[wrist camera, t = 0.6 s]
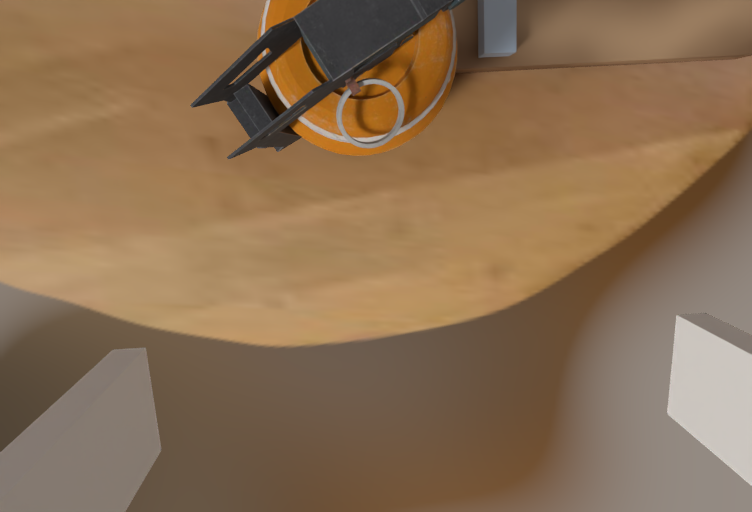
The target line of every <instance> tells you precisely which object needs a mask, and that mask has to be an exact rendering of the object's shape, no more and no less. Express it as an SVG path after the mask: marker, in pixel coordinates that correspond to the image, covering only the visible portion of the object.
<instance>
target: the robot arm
mask: <svg viewBox="0 0 752 512" xmlns="http://www.w3.org/2000/svg"><path fill="white" fill-rule="evenodd" d="M667 411H668V412H667V414H668V415H669V416H670V417H672V418H673V419H674V420H675V421H677V423H679V424H680V425H681V426H682V427H683V428H685V429H686V430H687V431H688V432H689V433H690V434H691V435H693V436H694V437H695V438H696V439H697V440H699V441H700V442H701V443H702V444H703V445H704V446H706V447H707V448H708V449H709V450H711V452H713V453H714V454H715V455H716V456H717V457H719V458H720V459H721V460H722V461H723V462H725V463H726V464H727V465H728V466H729V467H730V468H731V469H733V470H734V471H735V472H736V473H737V474H738V475H740V476H741V477H742V478H743V479H744V480H745V481H747V482H748V483H749V484H750V485H751V486H752V335H750V334H748V333H746V332H744V331H742V330H740V329H738V328H736V327H734V326H732V325H729V324H728V323H725V322H723V321H721V320H719V319H717V318H715V317H713V316H711V315H709V314H707V313H700V314H683V315H677V316H676V327H675V338H674V348H673V358H672V368H671V379H670V389H669V400H668V410H667ZM160 451H161V445H160V438H159V432H158V425H157V419H156V412H155V405H154V400H153V393H152V386H151V380H150V373H149V366H148V360H147V353H146V348H132V349H116V350H112V351H111V352H110V353H109V354H108V355H107V356H105V357H104V358H103V359H102V360H101V361H100V362H99V363H98V364H97V365H96V366H95V367H93V368H92V369H91V370H90V371H89V372H88V373H87V374H86V375H85V376H84V377H83V378H81V380H79V381H78V382H77V383H76V384H75V385H74V386H73V387H72V388H70V389H69V390H68V391H67V392H66V393H65V394H64V395H63V396H62V397H61V398H60V399H59V400H57V401H56V402H55V403H54V404H53V405H52V406H51V407H50V408H49V409H48V410H46V411H45V412H44V413H43V414H42V415H41V416H40V417H39V418H38V419H37V420H35V421H34V422H33V423H32V424H31V425H30V426H29V427H28V428H27V429H26V430H24V431H23V432H22V433H21V434H20V435H19V436H18V437H17V438H16V439H15V440H14V441H12V442H11V443H10V444H9V445H8V446H7V447H6V448H5V449H4V450H3V451H2V452H0V512H125V511H126V509H127V508H128V506H129V504H130V502H131V501H132V499H133V497H134V496H135V494H136V492H137V490H138V489H139V487H140V485H141V483H142V482H143V480H144V478H145V477H146V475H147V473H148V472H149V470H150V468H151V467H152V465H153V463H154V461H155V460H156V458H157V456H158V455H159V453H160Z"/></svg>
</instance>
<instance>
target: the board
mask: <svg viewBox="0 0 752 512" xmlns="http://www.w3.org/2000/svg"><path fill="white" fill-rule="evenodd" d="M452 12H453V15H454V21H455V28H456V37H457V65H456V71H455V73H469V72H489V71H509V70H529V69H548V68H568V67H588V66H608V65H628V64H648V63H668V62H687V61H707V60H727V59H738V58H742V57H747V56H751V55H752V0H517V29H516V53H514V54H512V55H510V56H503V57H482V58H478V0H465V1H464V2H463V3H461V4H460V5H458V6H457V7H455V8H454V9H452Z"/></svg>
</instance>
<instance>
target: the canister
mask: <svg viewBox="0 0 752 512" xmlns="http://www.w3.org/2000/svg"><path fill="white" fill-rule="evenodd" d="M464 1H465V0H267V1H266V4H265V6H264V9H263V11H262V14H261V18H260V23H259V27H258V34H257V41H256V42H255V43H254V44H253V45H252V46H251V47H250V48H249V49H248V50H247V51H246V52H245V53H244V54H243V55H242V56H241V57H239V58H238V59H237V60H236V61H235V62H234V63H233V64H232V65H231V66H230V67H229V68H228V69H227V70H226V71H225V72H224V73H223V74H222V75H221V76H220V77H219V78H218V79H217V80H216V81H215V82H214V83H213V84H212V85H211V86H210V87H209V88H208V89H207V90H205V91H204V92H203V93H202V94H201V95H200V96H199V97H198V98H197V99H196V100H195V101H194V102H193V103H192V104H191V107H197V106H201V105H205V104H210V103H214V102H219V101H223V100H225V101H227V104H228V106H229V107H230V109H231V110H232V112H233V113H234V115H235V116H236V118H237V119H238V120H239V122H240V123H241V125H242V126H243V128H244V129H245V131H246V132H247V134H248V135H249V137H250V138H251V139H249V140H248V141H247V142H246V143H244V144H243V145H242V146H241V147H239V148H238V149H237V150H236V151H234V152H233V153H232V154H231V155H229V156H228V157H227V158H228V159H231V158H233V157H236V156H238V155H240V154H242V153H245V152H247V151H249V150H252V149H254V148H256V147H257V148H267V147H274V148H275V149H276V151H277V152H279V151H280V150H282V149H284V148H285V147H287V146H288V145H290V144H292V143H293V142H295V141H297V140H298V139H300V138H301V137H303V138H304V139H306V140H307V141H309V142H310V143H312V144H314V145H316V146H318V147H320V148H323V149H325V150H328V151H332V152H335V153H338V154H346V155H353V156H357V155H372V154H378V153H383V152H386V151H389V150H392V149H394V148H397V147H399V146H401V145H403V144H405V143H407V142H408V141H410V140H412V139H413V138H414V137H416V136H417V135H418V134H419V133H421V132H422V131H423V130H424V129H425V128H426V127H427V126H428V125H429V124H430V123H431V122H432V121H433V120H434V118H435V117H436V115H437V114H438V113H439V111H440V110H441V108H442V107H443V105H444V103H445V101H446V99H447V97H448V95H449V93H450V90H451V86H452V83H453V80H454V77H455V71H456V65H457V37H456V28H455V21H454V15H453V12H452V9H454V8H455V7H457V6H458V5H460V4H461V3H463V2H464ZM256 58H257V63H256V64H255V65H253V66H252V67H251V68H250V69H249V70H248V71H246V72H245V73H244V74H243V75H242V76H241V77H240V78H238V79H237V80H236V81H235V82H234V83H232V84H230V83H231V82H232V81H233V80H234V79H235V78H236V77H237V76H238V75H239V74H240V73H241V72H242V71H243V70H244V69H245V68H246V67H247V66H249V65H250V64H251V63H252V62H253V61H254V60H255V59H256ZM259 74H260V76H261V80H262V83H263V86H264V88H265V91H266V93H267V95H265V94H264V93H262V92H260V91H259V90H257V89H256V88H254V87H253V86H251V85H250V84H248V83H249V82H251V81H252V80H253V79H254V78H255V77H256V76H257V75H259ZM229 84H230V85H229Z"/></svg>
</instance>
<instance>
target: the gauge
mask: <svg viewBox="0 0 752 512" xmlns="http://www.w3.org/2000/svg"><path fill="white" fill-rule="evenodd" d="M516 29H517V0H478V58H482V57H503V56H510V55H512V54H514V53H516Z"/></svg>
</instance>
